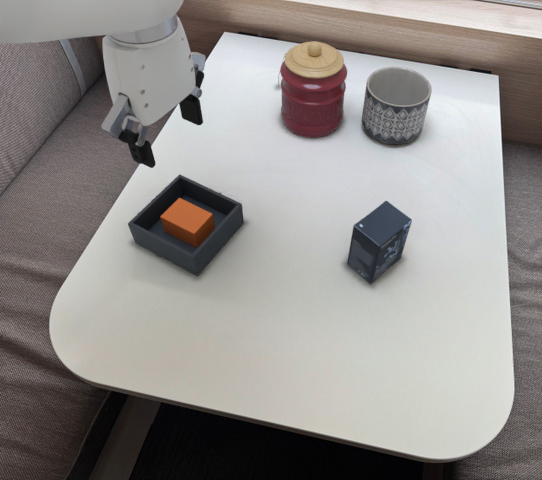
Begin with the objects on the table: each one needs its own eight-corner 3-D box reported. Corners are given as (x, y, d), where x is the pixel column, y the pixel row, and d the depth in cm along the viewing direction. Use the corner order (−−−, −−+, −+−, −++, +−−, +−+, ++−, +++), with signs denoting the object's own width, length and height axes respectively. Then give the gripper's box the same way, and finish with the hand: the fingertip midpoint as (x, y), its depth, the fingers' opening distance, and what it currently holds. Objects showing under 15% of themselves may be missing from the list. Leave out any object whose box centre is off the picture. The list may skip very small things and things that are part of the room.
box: (370, 285, 85) (379, 246, 76) (346, 264, 87) (351, 224, 79) (401, 259, 88) (413, 219, 80) (377, 239, 91) (386, 198, 82)
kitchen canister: (279, 100, 113) (278, 24, 99) (338, 98, 114) (345, 23, 100) (282, 140, 105) (281, 63, 91) (346, 138, 106) (354, 62, 92)
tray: (197, 276, 84) (192, 258, 80) (134, 242, 88) (127, 223, 84) (244, 222, 92) (241, 203, 88) (184, 193, 95) (179, 174, 91)
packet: (197, 248, 87) (194, 233, 84) (164, 231, 89) (160, 216, 86) (215, 228, 90) (212, 213, 87) (183, 212, 92) (179, 197, 89)
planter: (389, 156, 104) (398, 115, 95) (348, 123, 109) (353, 81, 101) (433, 132, 109) (445, 90, 101) (392, 101, 115) (399, 59, 106)
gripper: (165, -25, 61) (188, 97, 74) (51, 43, 51) (100, 169, 65) (218, -7, 59) (231, 115, 72) (109, 67, 49) (148, 192, 63)
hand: (169, 141), depth 68 cm, fingers open, 9 cm apart
